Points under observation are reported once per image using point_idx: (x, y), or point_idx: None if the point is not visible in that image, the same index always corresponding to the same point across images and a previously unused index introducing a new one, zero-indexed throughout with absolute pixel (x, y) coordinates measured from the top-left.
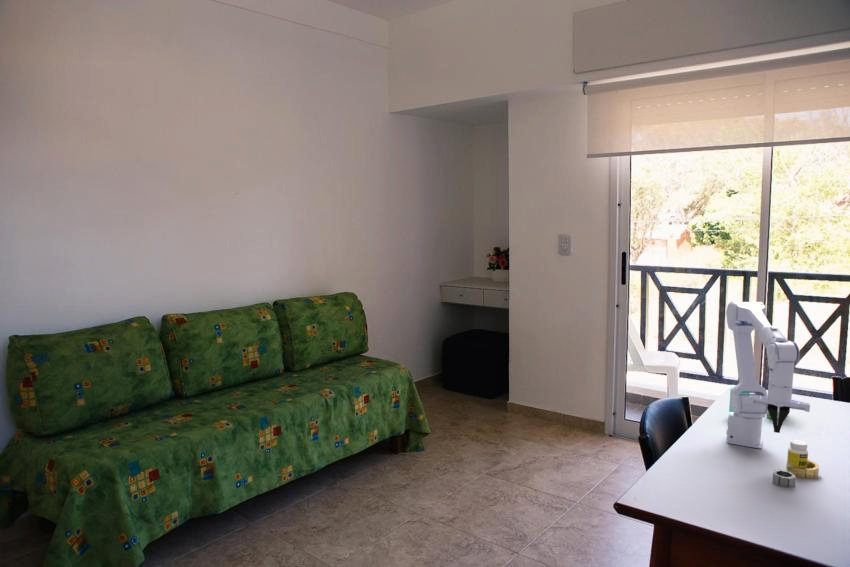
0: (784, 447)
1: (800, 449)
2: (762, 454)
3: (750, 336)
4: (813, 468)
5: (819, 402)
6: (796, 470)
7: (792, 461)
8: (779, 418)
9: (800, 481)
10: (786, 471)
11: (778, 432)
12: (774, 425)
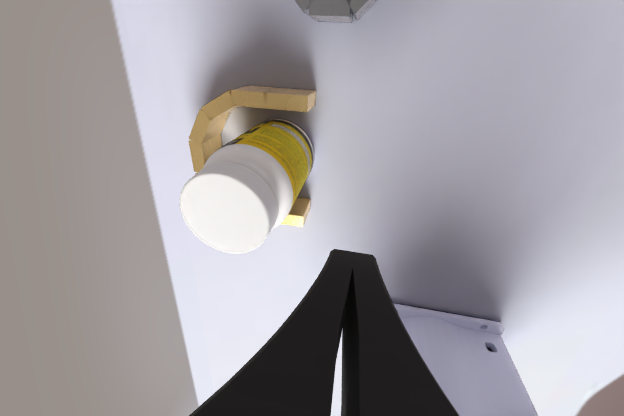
0: None
1: (222, 161)
2: (386, 264)
3: None
4: (205, 124)
5: None
6: (273, 91)
7: (283, 138)
8: (320, 382)
9: (264, 36)
10: (317, 4)
11: (340, 250)
12: (380, 298)
